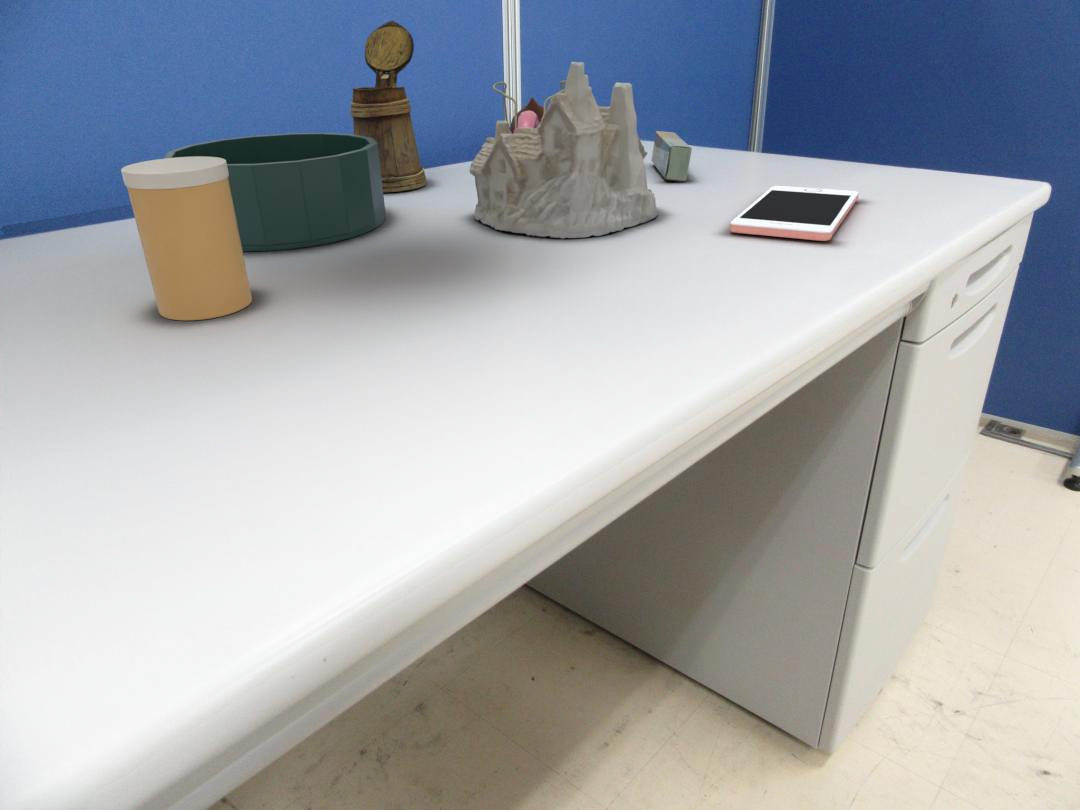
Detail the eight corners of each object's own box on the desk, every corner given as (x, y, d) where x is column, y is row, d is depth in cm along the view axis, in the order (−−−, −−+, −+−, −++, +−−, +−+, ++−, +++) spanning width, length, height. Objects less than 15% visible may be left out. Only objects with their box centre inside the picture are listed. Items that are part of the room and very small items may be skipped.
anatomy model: (478, 159, 92) (486, 50, 96) (495, 217, 105) (501, 119, 109) (566, 158, 91) (570, 48, 95) (571, 216, 104) (574, 118, 108)
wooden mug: (441, 171, 103) (428, 19, 95) (417, 193, 91) (401, 20, 83) (374, 172, 104) (357, 21, 96) (342, 193, 92) (319, 23, 84)
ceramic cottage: (681, 213, 78) (677, 48, 72) (555, 252, 69) (538, 67, 63) (576, 200, 89) (565, 56, 83) (457, 232, 80) (434, 73, 74)
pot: (139, 238, 76) (118, 158, 72) (283, 198, 91) (271, 129, 88) (291, 260, 67) (276, 171, 64) (422, 212, 83) (415, 137, 79)
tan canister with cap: (137, 313, 56) (98, 170, 52) (209, 286, 62) (180, 154, 57) (202, 326, 54) (167, 176, 49) (272, 297, 59) (247, 159, 54)
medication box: (687, 182, 93) (693, 147, 91) (664, 181, 93) (670, 145, 91) (670, 162, 104) (675, 130, 102) (650, 161, 104) (654, 129, 102)
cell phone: (858, 199, 82) (859, 190, 82) (829, 242, 68) (830, 231, 67) (772, 193, 86) (773, 184, 85) (728, 232, 72) (728, 222, 71)
